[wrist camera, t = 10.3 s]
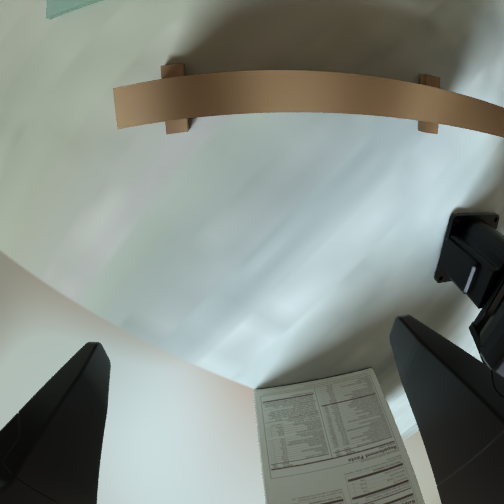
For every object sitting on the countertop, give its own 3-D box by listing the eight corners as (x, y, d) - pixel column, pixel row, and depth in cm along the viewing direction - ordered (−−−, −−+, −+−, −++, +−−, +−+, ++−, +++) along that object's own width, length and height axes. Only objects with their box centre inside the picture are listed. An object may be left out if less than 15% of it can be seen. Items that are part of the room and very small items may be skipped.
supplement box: (250, 388, 29) (269, 553, 14) (373, 364, 29) (430, 509, 14) (261, 438, 35) (276, 554, 20) (355, 420, 36) (388, 528, 21)
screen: (437, 78, 15) (517, 90, 9) (435, 132, 17) (511, 163, 11) (156, 68, 14) (110, 55, 8) (162, 133, 16) (122, 163, 10)
